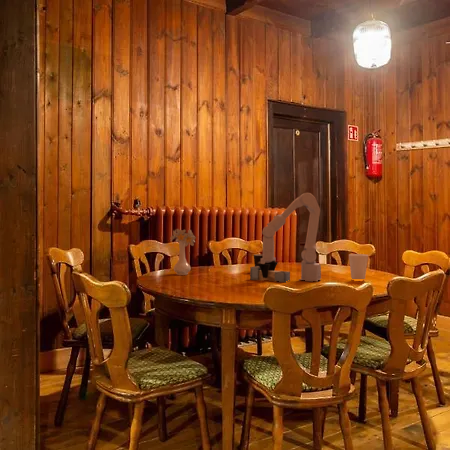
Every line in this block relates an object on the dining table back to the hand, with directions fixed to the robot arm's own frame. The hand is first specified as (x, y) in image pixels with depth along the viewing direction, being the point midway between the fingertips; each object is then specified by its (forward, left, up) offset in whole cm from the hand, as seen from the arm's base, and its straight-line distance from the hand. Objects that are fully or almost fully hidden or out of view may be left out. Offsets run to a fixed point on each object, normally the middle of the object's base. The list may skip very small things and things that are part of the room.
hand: (268, 276), depth 241 cm
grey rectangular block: (+6, 0, -2) cm, 7 cm away
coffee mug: (+14, -25, -2) cm, 29 cm away
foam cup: (-40, -21, -2) cm, 45 cm away
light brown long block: (0, 0, -2) cm, 2 cm away
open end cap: (-8, 0, -2) cm, 8 cm away
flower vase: (+49, +4, -2) cm, 49 cm away
